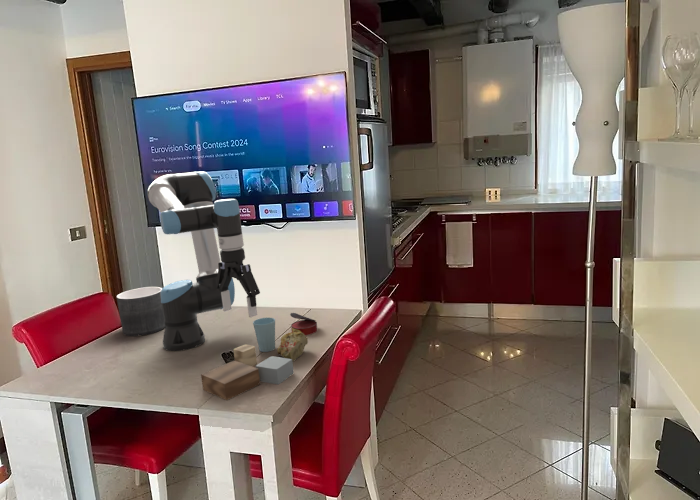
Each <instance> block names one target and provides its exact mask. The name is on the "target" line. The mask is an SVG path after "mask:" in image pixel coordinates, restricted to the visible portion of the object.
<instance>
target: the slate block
mask: <svg viewBox="0 0 700 500" xmlns="http://www.w3.org/2000/svg"><path fill="white" fill-rule="evenodd" d="M293 363H294V361H293V362H292V359H288V358H284V357H282V356H281V357H279V356H273V355H272V356H269V357H268V358H266V359H264V360H263V361H261V362H259V363H257V364H256V365H254V367H255V368H258V370H259V378H260V382H261V383H262V382H263V383H267V384H274V385H280V384H281V383H282V382H284V381H286V380H287V379H288V378H289V376H290V375H291V376H292V374H293V373H294V365H293ZM294 374H295V373H294ZM294 374H293V375H294ZM291 376H290V377H291ZM286 378H287V379H286Z"/></svg>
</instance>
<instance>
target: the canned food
mask: <svg viewBox="0 0 700 500" xmlns="http://www.w3.org/2000/svg"><path fill="white" fill-rule="evenodd" d="M289 315H290V317H292V318H294V319H298V320H296V321H294V322H292V324H290V328H291V332H293V333H295V332H302V333H303V334H304V335H305V336H308V335H312V334H315V333H317V332H318V322H317V320H316V319H313V318H309V317H307V316H304V315H301V314H298V313H296V312H290V314H289Z"/></svg>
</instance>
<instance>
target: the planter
mask: <svg viewBox="0 0 700 500" xmlns="http://www.w3.org/2000/svg"><path fill="white" fill-rule="evenodd" d="M162 288H163V287H159V286H145V287H139V288H134V289H130V290H129V289H128V290H126V291H123V292H121V293H119V294H117V295H116V300H117V302H116V303H117V307H118V312H119V318H120V324H121V329H122V335H125V336H129V337H139V336H138V335H141V336H147V335H150V334H155V333H158V332H160V331H163V330H165V321H164V315H163V308H162V303H161V290H162ZM154 332H155V333H154ZM146 334H147V335H146Z"/></svg>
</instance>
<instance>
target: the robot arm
mask: <svg viewBox="0 0 700 500" xmlns="http://www.w3.org/2000/svg"><path fill="white" fill-rule="evenodd" d="M216 195H217V194H216V187H215V185H214V181H213V179H212V177H211V176H210V174H209V173H207V172H206V171H191V172H182V173H180V172H179V173H170V174H163V175H161V176H159V177H157V178H156V179H155V180H154V181H152V183H151V184H150V185H149V186H148V189H147V198H148V201H149V203H150V204H151V205H152V206H153V207H155V208H157V209H158V211H159V212H160V214H159V219H160V220H159V221H160V226H161V230H162V232H163V234H164V235H177V234H178V235H179V234H184V233H191V239H192V243H193V244H192V245H193V248H194V249H193V250H194V253H195V260H196V264H197V269H198V274H197V275H196V277H195V280H196V282H193V281H192V280H191V279H184V280H177V281H174V282H171V283H169V284H167V285H165V286H163V287H161V288H162V290H161V303H162V308H163V315H164V321H165V328H164V331H163V337H162V338H163V339H162V346H163V349H164V350H166V351H172V352H175V351H176V352H178V351H180V352H181V351H187V350H190V349H193V348H196V347H199V346H200V345H202V344H203V343H205V341H206V338H205V332H204V331H203V329H202V327H201V325H200V323H199V321H198V316H197V315H198V314H202V313H203V314H204V313H209V312H213V311H217V310H222V311H223V312H227V311H230V310H231V311H232V306H233V304H234V301H235V295H236V294H235V292H236V288H235V287H236V286H235V282H234V279H236V280H237V281H238V282H239V283H240V285H241V286H242V289H243V290H244V291H245V293H246V304H247V313H248V317H249V318H252V317H256V316H257V315H258V310H257V304H258V303H257V298H256V297H257V295H258V296H259V295H260V294H261V291H260V288H259V287H258V284H257V281H256V279H255V277H254V275H253V273H252V268H251V265H250V264H244V260H246V253H245V248H244V245H245V244H244V243H245V242H244V236H243V231H242V230H243V229H242V220H241V209H240V205H239V202H238V200H237V199H236V198H225V199H217V200H216V197H217V196H216ZM213 201H214V202H213ZM215 229H216V231H217V238H216V234H215ZM217 239H218V244H217ZM218 247H219V248H218ZM219 249H220V251H219Z"/></svg>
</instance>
